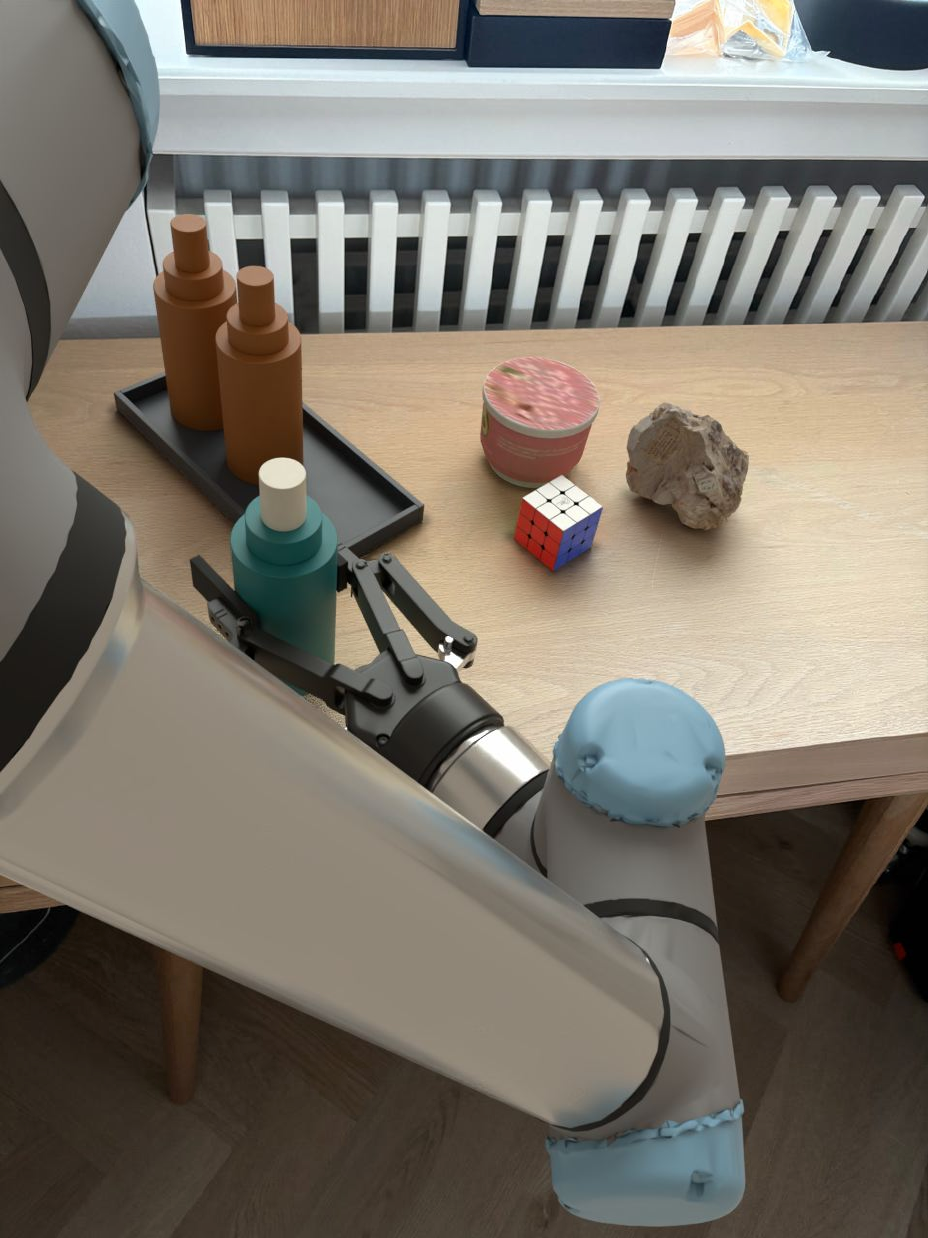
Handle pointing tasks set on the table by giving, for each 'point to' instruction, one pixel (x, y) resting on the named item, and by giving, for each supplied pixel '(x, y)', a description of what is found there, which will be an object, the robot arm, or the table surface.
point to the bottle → (288, 562)
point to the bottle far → (192, 323)
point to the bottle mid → (259, 378)
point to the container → (536, 419)
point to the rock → (686, 465)
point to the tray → (334, 466)
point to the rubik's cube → (557, 522)
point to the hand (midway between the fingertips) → (242, 546)
